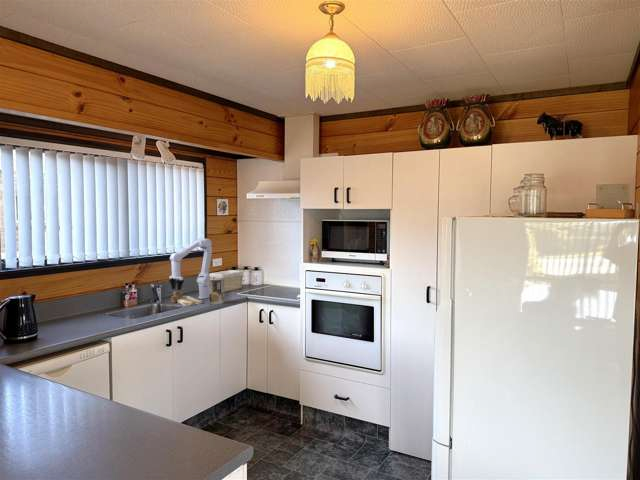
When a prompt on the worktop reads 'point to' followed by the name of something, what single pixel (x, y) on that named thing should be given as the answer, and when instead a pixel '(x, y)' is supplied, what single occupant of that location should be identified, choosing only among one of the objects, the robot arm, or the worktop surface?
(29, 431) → the worktop surface
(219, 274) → the storage basket
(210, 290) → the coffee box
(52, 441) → the worktop surface
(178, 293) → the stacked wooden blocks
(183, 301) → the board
